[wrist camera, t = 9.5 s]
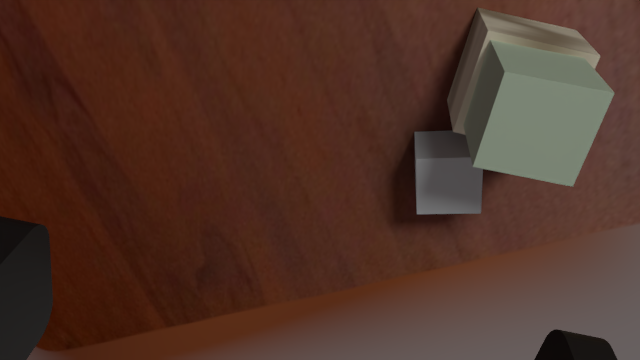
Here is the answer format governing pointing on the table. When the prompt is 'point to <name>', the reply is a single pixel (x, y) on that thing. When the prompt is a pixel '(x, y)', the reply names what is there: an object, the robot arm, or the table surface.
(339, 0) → the table surface
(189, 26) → the table surface
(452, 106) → the maple block
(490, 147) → the green cube
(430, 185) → the grey block
